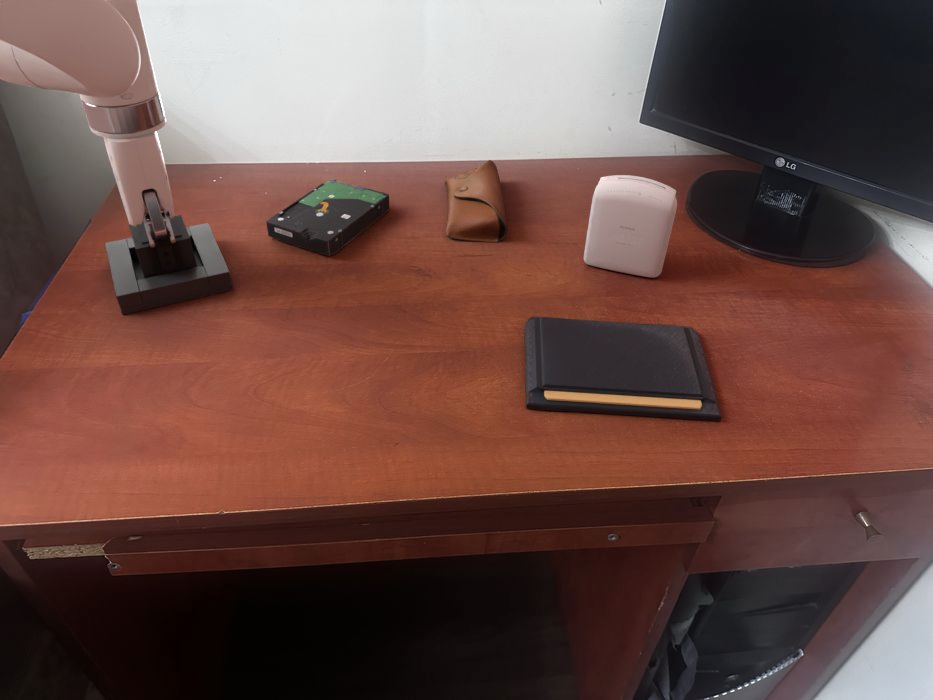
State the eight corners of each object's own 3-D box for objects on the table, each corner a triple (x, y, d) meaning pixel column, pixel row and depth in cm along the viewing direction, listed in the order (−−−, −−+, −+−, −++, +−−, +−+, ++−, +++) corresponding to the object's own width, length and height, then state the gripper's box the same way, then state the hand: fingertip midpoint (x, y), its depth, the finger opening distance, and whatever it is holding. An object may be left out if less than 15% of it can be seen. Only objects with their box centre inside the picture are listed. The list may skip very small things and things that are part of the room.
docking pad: (122, 315, 81) (116, 296, 79) (110, 260, 89) (104, 242, 88) (233, 289, 85) (229, 271, 84) (212, 240, 94) (208, 222, 92)
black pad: (144, 278, 83) (135, 247, 80) (137, 253, 87) (128, 222, 84) (197, 267, 85) (189, 236, 82) (188, 242, 89) (180, 213, 86)
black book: (701, 319, 81) (727, 413, 69) (696, 332, 82) (721, 426, 70) (526, 305, 82) (523, 395, 70) (525, 318, 83) (521, 409, 71)
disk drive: (332, 260, 91) (391, 210, 102) (330, 241, 89) (390, 192, 100) (267, 239, 95) (330, 193, 105) (264, 221, 93) (329, 175, 103)
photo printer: (579, 266, 92) (593, 178, 84) (586, 249, 95) (600, 163, 87) (658, 283, 90) (681, 194, 82) (663, 266, 93) (685, 179, 85)
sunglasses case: (441, 177, 109) (465, 142, 105) (479, 198, 112) (503, 165, 108) (444, 238, 95) (471, 200, 92) (488, 261, 98) (516, 225, 94)
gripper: (79, 88, 79) (124, 229, 90) (94, 149, 67) (143, 303, 78) (150, 79, 81) (185, 218, 93) (176, 137, 70) (212, 287, 81)
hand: (165, 256), depth 86 cm, fingers closed on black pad, 6 cm apart
